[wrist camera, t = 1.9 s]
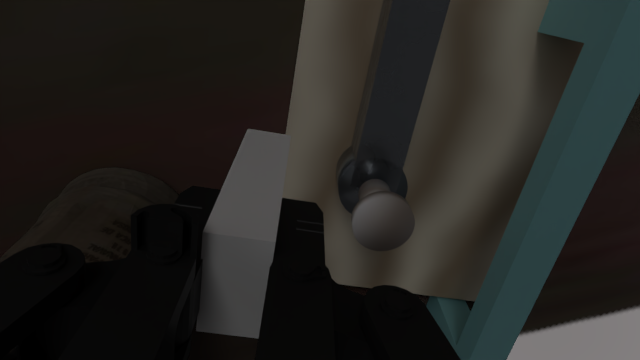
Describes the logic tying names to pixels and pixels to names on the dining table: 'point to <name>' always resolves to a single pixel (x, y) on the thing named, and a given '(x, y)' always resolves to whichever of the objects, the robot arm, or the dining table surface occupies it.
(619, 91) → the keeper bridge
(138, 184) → the beer stein
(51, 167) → the dining table surface
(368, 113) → the swing link
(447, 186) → the pivot plate
